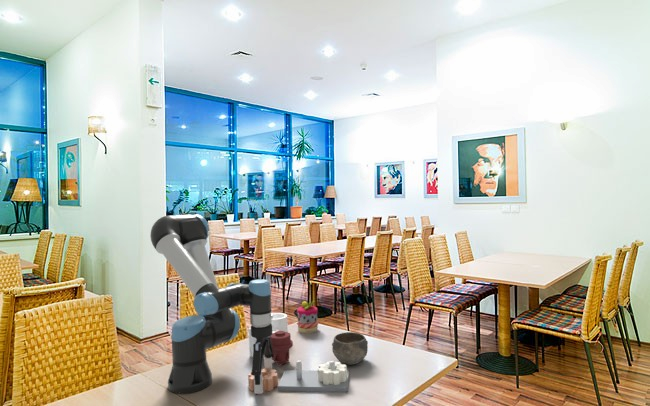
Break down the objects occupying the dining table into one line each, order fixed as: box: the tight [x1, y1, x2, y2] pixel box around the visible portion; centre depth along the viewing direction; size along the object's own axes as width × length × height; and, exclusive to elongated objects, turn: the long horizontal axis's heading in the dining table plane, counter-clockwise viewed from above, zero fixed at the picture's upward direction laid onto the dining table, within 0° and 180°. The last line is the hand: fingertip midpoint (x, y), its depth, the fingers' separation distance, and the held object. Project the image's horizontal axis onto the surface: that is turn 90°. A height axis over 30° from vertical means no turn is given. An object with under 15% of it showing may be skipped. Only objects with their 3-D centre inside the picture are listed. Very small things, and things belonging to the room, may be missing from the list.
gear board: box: [277, 360, 350, 393], centre depth 144 cm, size 24×13×8 cm, turn 84°
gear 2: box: [317, 361, 348, 385], centre depth 143 cm, size 10×10×4 cm
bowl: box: [331, 331, 369, 366], centre depth 162 cm, size 14×15×10 cm
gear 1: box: [247, 367, 279, 392], centre depth 143 cm, size 10×10×4 cm
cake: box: [296, 300, 319, 334], centre depth 202 cm, size 10×11×15 cm
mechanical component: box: [270, 331, 294, 367], centre depth 163 cm, size 12×10×10 cm
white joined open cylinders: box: [248, 312, 289, 359], centre depth 180 cm, size 25×10×12 cm, turn 161°
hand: (264, 384), depth 143 cm, fingers open, 13 cm apart
